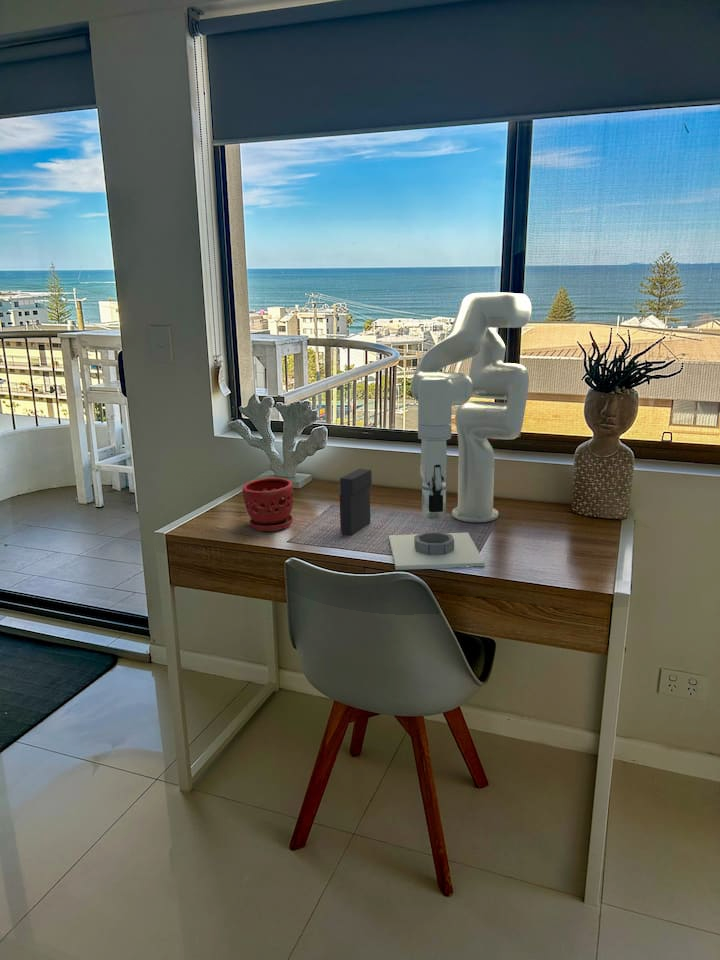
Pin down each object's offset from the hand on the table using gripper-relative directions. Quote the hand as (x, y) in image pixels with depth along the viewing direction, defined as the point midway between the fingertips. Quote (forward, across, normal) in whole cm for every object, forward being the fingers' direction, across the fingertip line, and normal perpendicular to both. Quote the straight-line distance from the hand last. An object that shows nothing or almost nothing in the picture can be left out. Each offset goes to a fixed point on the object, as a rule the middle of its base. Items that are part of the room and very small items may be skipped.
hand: (433, 506), depth 159 cm
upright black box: (+11, -19, -18) cm, 29 cm away
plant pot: (+12, -23, -41) cm, 48 cm away
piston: (+2, 0, 0) cm, 2 cm away
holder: (+11, 0, 0) cm, 11 cm away
